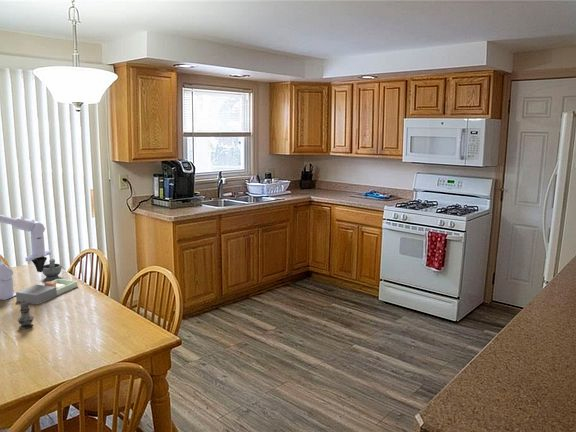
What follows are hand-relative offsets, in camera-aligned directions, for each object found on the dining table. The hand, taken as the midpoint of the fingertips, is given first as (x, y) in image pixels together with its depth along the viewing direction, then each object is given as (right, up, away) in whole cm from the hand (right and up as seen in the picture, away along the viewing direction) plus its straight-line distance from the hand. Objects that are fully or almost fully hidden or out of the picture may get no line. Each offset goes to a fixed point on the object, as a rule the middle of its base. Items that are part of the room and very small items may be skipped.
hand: (40, 271), depth 238 cm
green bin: (+8, -9, +2) cm, 13 cm away
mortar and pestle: (-3, -6, +19) cm, 20 cm away
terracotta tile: (+7, -8, -4) cm, 11 cm away
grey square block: (+4, -12, -11) cm, 17 cm away
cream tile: (+8, -7, +1) cm, 11 cm away
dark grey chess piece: (+16, -18, -42) cm, 49 cm away
